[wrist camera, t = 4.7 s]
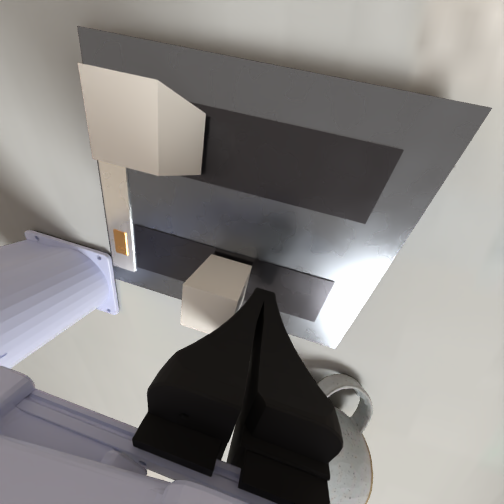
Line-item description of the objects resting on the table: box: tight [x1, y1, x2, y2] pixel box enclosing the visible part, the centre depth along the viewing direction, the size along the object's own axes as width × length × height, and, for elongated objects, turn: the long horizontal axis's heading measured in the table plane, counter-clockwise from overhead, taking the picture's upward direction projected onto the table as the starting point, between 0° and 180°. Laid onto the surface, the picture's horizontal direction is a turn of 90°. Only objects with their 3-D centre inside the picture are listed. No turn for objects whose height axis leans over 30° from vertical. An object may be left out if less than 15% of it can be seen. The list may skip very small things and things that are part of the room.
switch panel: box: [77, 26, 492, 349], centre depth 13 cm, size 20×16×2 cm
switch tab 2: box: [180, 254, 252, 334], centre depth 12 cm, size 3×3×4 cm
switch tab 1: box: [78, 63, 206, 176], centre depth 8 cm, size 3×3×4 cm
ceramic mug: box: [318, 374, 373, 504], centre depth 17 cm, size 11×8×8 cm
